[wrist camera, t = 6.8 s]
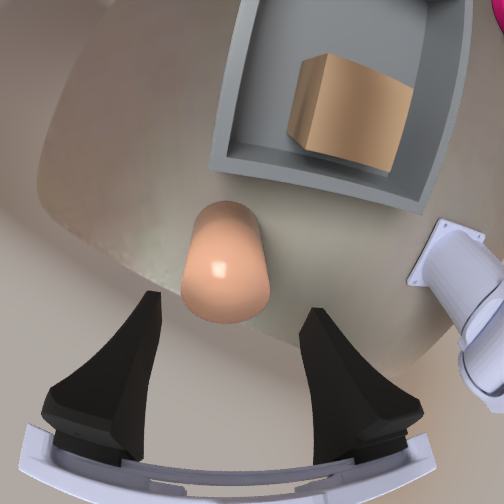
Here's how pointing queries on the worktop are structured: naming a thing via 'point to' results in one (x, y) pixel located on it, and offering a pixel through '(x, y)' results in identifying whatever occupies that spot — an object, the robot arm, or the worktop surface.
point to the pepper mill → (499, 12)
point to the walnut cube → (348, 111)
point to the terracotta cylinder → (225, 265)
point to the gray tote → (359, 51)
